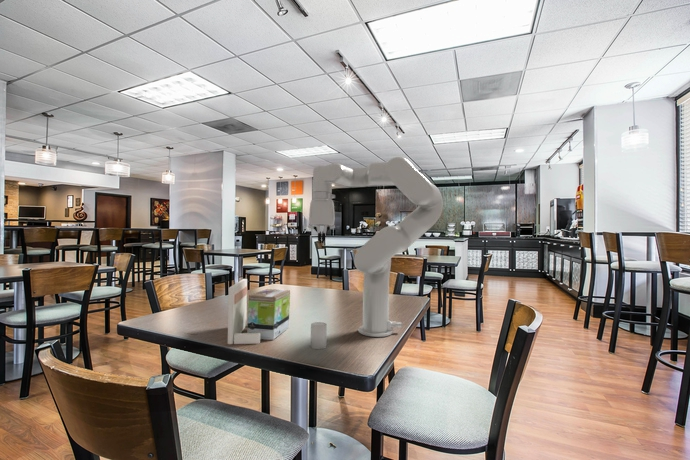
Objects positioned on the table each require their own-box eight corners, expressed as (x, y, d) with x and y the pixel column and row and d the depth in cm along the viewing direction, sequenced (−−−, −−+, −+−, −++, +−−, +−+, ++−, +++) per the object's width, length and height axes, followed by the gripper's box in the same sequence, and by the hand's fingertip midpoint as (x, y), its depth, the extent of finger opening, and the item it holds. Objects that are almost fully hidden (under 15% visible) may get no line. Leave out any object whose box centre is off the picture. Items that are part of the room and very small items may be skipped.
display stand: (268, 325, 126) (269, 278, 126) (259, 343, 105) (260, 287, 105) (242, 325, 125) (243, 278, 125) (227, 344, 104) (228, 287, 104)
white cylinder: (326, 343, 106) (326, 322, 106) (326, 348, 101) (326, 326, 101) (310, 343, 105) (311, 322, 106) (310, 349, 100) (310, 326, 101)
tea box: (274, 340, 108) (275, 296, 108) (246, 338, 110) (247, 295, 110) (289, 328, 123) (290, 289, 123) (264, 326, 125) (265, 287, 125)
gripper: (340, 198, 134) (339, 243, 134) (303, 198, 133) (303, 242, 133) (341, 196, 127) (340, 243, 127) (303, 195, 125) (302, 243, 125)
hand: (321, 243), depth 130 cm, fingers closed
